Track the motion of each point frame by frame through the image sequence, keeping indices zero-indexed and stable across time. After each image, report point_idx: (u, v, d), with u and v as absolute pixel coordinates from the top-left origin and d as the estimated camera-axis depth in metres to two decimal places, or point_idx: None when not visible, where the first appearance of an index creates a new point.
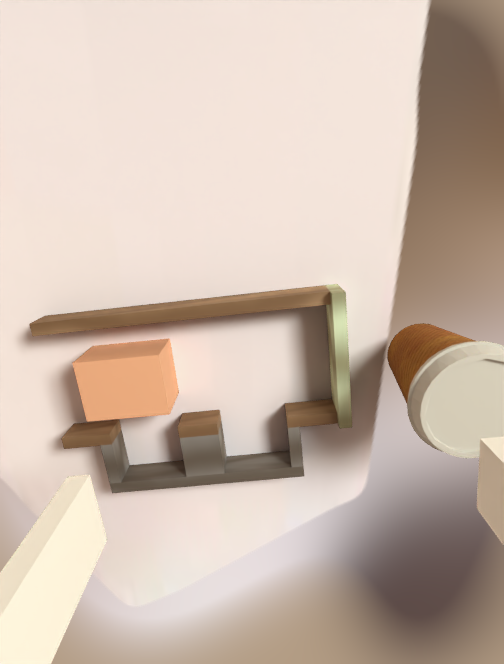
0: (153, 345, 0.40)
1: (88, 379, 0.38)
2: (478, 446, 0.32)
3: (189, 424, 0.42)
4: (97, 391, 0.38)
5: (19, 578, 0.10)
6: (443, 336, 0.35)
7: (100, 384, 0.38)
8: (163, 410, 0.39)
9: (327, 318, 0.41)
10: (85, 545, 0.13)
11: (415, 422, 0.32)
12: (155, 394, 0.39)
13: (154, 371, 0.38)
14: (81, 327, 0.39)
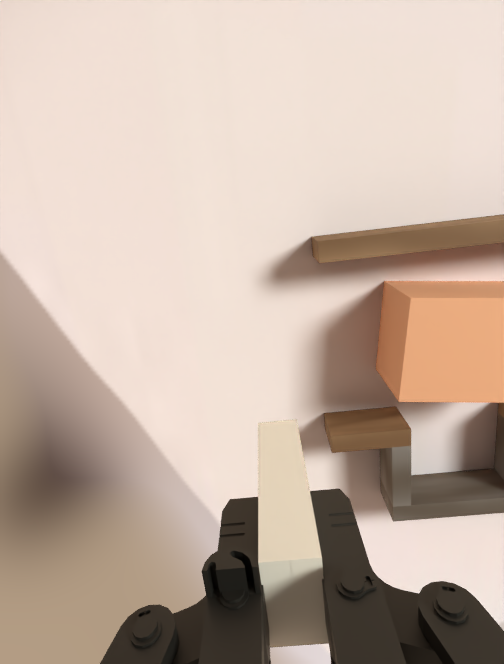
0: None
1: (428, 329, 0.22)
2: None
3: None
4: (435, 352, 0.22)
5: (278, 490, 0.12)
6: None
7: (446, 339, 0.22)
8: None
9: None
10: None
11: None
12: None
13: None
14: (407, 247, 0.23)
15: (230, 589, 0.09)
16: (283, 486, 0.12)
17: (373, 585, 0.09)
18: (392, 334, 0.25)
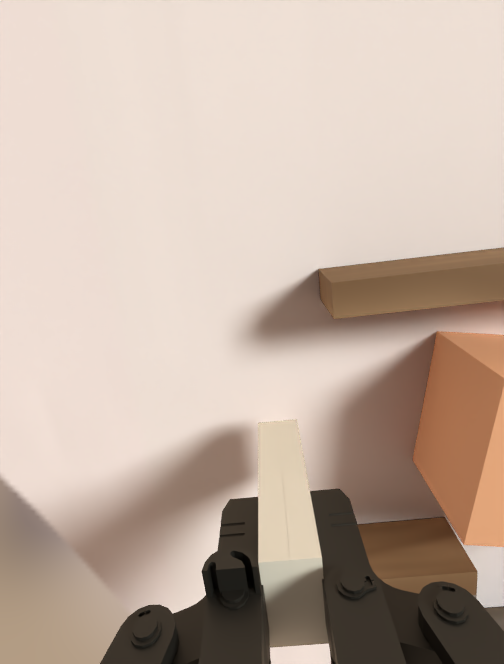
0: None
1: None
2: None
3: None
4: None
5: (278, 490, 0.12)
6: None
7: None
8: None
9: None
10: None
11: None
12: None
13: None
14: (484, 292, 0.13)
15: (230, 589, 0.09)
16: (283, 486, 0.12)
17: (373, 585, 0.09)
18: (452, 423, 0.15)
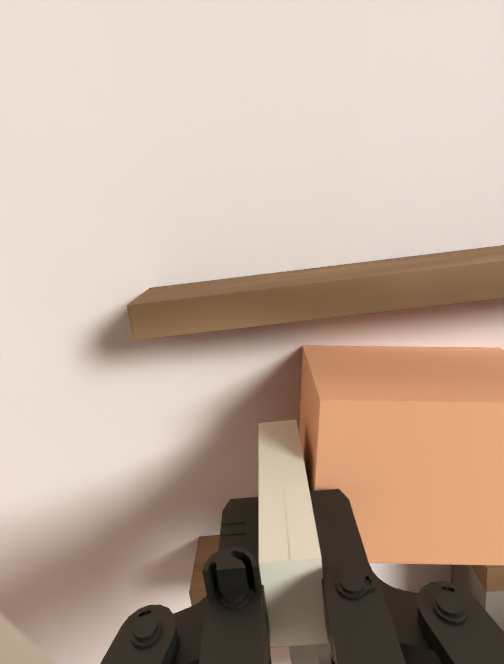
0: (495, 365, 0.15)
1: (354, 451, 0.13)
2: None
3: None
4: (368, 487, 0.13)
5: (279, 490, 0.12)
6: None
7: (385, 467, 0.13)
8: None
9: None
10: None
11: None
12: None
13: None
14: (276, 314, 0.13)
15: (230, 589, 0.09)
16: (283, 486, 0.12)
17: (373, 585, 0.09)
18: (307, 440, 0.15)
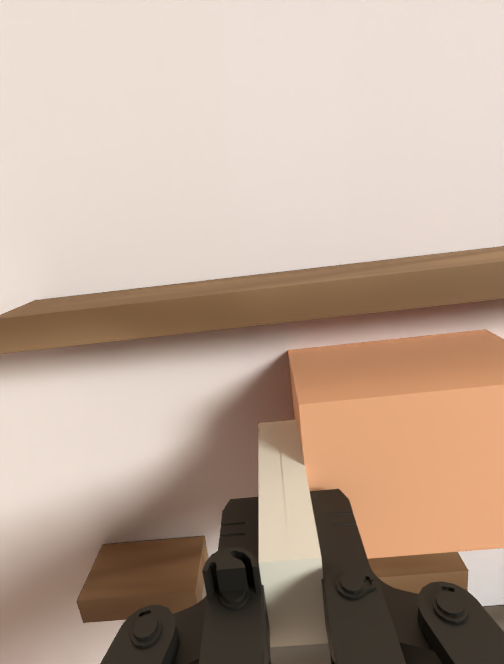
0: (478, 347, 0.15)
1: (340, 450, 0.13)
2: None
3: (392, 565, 0.17)
4: (359, 484, 0.13)
5: (278, 490, 0.12)
6: None
7: (373, 463, 0.13)
8: None
9: None
10: None
11: None
12: None
13: None
14: (135, 329, 0.14)
15: (230, 589, 0.09)
16: (283, 486, 0.12)
17: (373, 585, 0.09)
18: None
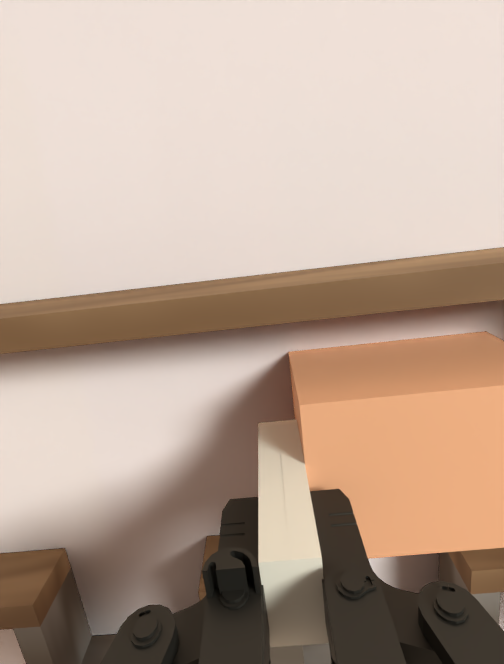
0: (477, 348, 0.15)
1: (341, 450, 0.13)
2: None
3: None
4: (359, 484, 0.13)
5: (278, 490, 0.12)
6: None
7: (373, 464, 0.13)
8: None
9: None
10: None
11: None
12: None
13: None
14: None
15: (230, 589, 0.09)
16: (283, 486, 0.12)
17: (373, 585, 0.09)
18: None
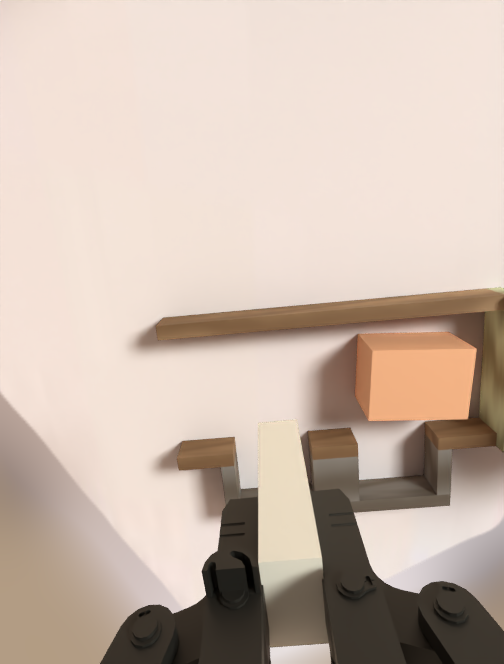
0: (443, 337, 0.35)
1: (386, 371, 0.32)
2: None
3: (324, 444, 0.37)
4: (391, 386, 0.33)
5: (278, 490, 0.12)
6: None
7: (398, 377, 0.33)
8: (462, 414, 0.33)
9: (486, 326, 0.36)
10: None
11: None
12: (458, 394, 0.33)
13: (465, 367, 0.32)
14: (215, 331, 0.34)
15: (230, 589, 0.09)
16: (283, 486, 0.12)
17: (373, 585, 0.09)
18: (363, 373, 0.35)
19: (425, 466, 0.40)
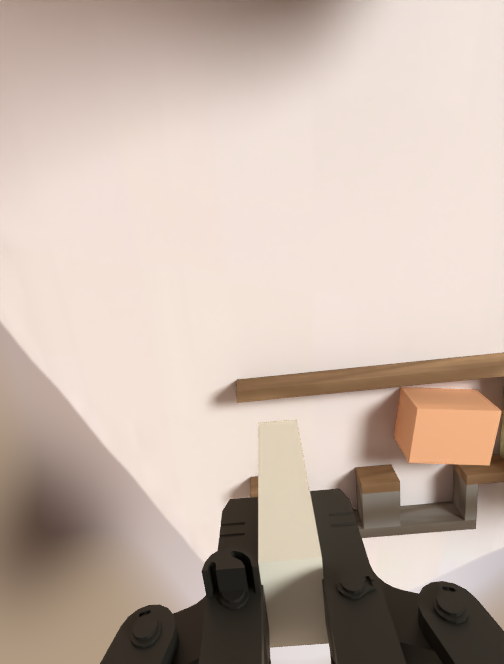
0: (473, 396, 0.42)
1: (427, 424, 0.40)
2: None
3: (371, 480, 0.44)
4: (430, 436, 0.40)
5: (278, 490, 0.12)
6: None
7: (436, 430, 0.40)
8: (485, 461, 0.41)
9: None
10: None
11: None
12: (483, 446, 0.40)
13: (491, 425, 0.40)
14: (284, 394, 0.41)
15: (230, 589, 0.09)
16: (283, 486, 0.12)
17: (373, 585, 0.09)
18: (405, 422, 0.42)
19: (454, 495, 0.47)
